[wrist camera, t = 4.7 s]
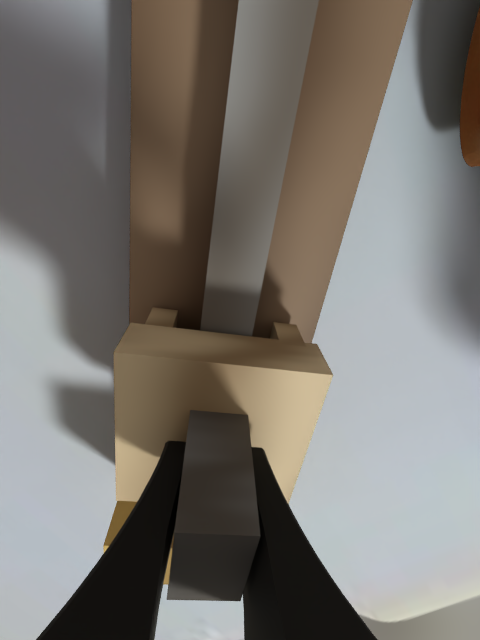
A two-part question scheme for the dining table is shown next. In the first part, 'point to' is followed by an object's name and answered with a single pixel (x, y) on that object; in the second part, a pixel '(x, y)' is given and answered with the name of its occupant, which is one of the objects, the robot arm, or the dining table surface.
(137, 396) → the tan tabbed slider block
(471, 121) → the toy sandwich meal
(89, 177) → the dining table surface
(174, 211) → the rail
